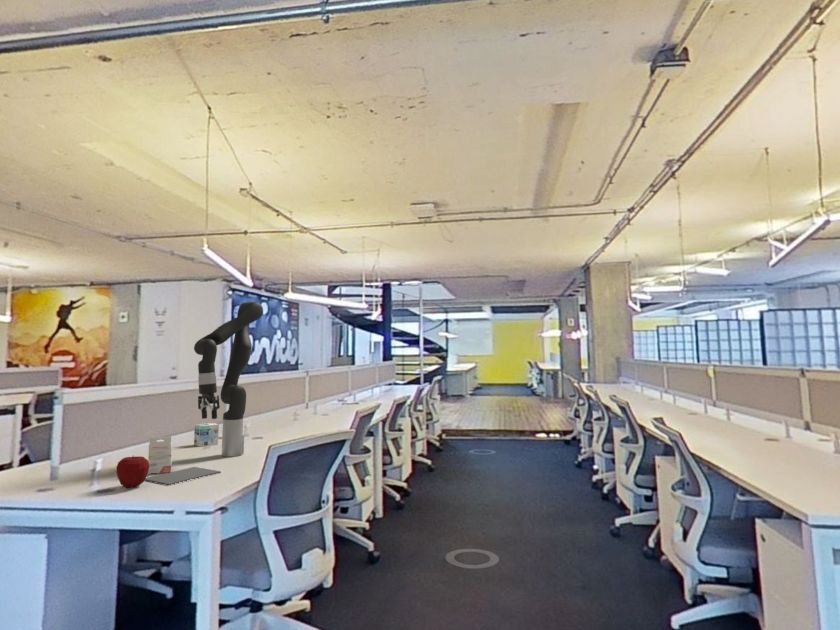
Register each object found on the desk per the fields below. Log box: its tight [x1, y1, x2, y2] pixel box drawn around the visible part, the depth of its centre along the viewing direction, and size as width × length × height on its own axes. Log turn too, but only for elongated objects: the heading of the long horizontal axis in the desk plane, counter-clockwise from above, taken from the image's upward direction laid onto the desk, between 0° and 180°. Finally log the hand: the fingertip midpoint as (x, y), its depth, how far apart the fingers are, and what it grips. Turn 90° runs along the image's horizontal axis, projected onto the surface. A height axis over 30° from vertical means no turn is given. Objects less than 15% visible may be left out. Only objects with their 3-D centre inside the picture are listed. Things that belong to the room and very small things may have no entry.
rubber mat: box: [145, 466, 222, 486], centre depth 212 cm, size 24×16×1 cm, turn 152°
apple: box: [115, 455, 150, 489], centre depth 196 cm, size 11×11×12 cm
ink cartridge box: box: [147, 436, 173, 475], centre depth 219 cm, size 9×5×15 cm, turn 112°
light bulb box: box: [193, 422, 220, 447], centre depth 281 cm, size 11×7×11 cm, turn 137°
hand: (209, 418), depth 242 cm, fingers open, 8 cm apart
